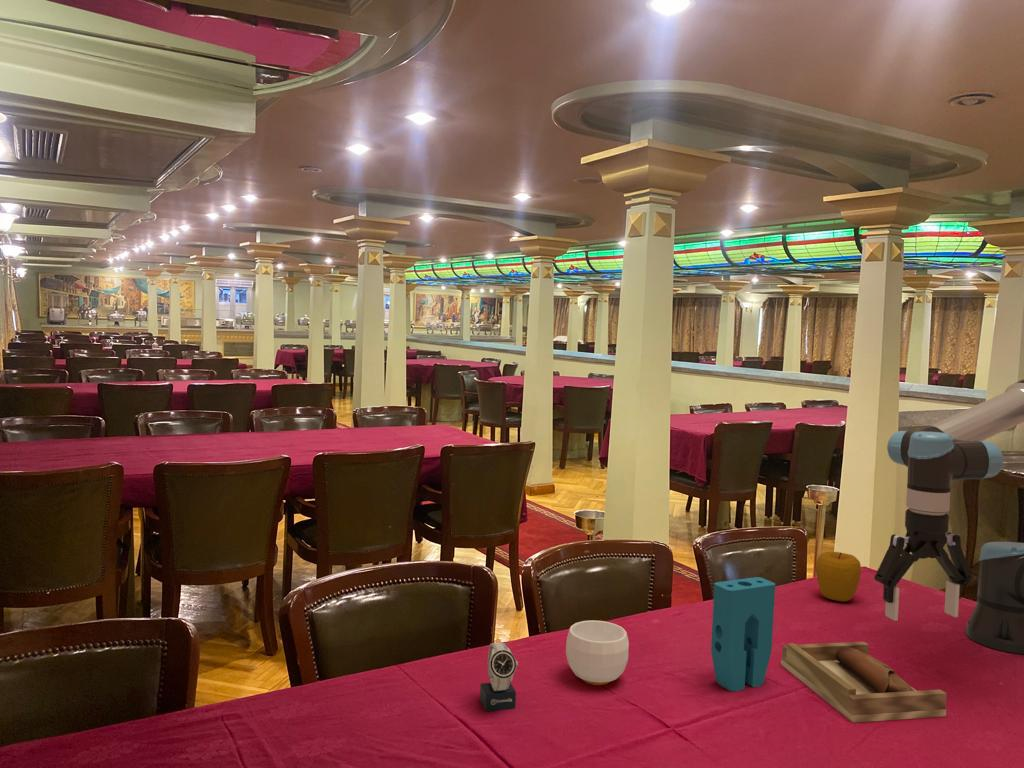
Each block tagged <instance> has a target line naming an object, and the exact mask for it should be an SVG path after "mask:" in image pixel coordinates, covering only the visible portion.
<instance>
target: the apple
mask: <svg viewBox="0 0 1024 768" xmlns="http://www.w3.org/2000/svg"><path fill="white" fill-rule="evenodd" d="M815 564H816V565H815V575H816V580H817V582H818V583H817V584H818V587H819V590H820V593H821V594H822V596H823V597H825V598H826V599H828V600H832V601H837V602H848V601H850V600H851V599H852V598H853V597H854V596H855V594H856V592H857V590H858V587H859V583H860V579H861V575H862V565H861V562H860V560H859V559H858V558H857V557H856V556H854V555H852V554H851V553H850V554H849V553H844V552H840V551H824V552H823V553H820V554H819V556H818V558H817V559H816V563H815Z"/></svg>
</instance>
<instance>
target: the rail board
mask: <svg viewBox="0 0 1024 768" xmlns="http://www.w3.org/2000/svg"><path fill="white" fill-rule="evenodd" d="M869 646H870V645H869V643H867V642H865V641H851V642H830V643H829V642H827V643H825V642H824V643H806V644H795V643H786V644H785V645H784V644H783V645H782V650H781V651H782V652H781V653H782V654H781V659H780V660H781V661H780V665H781V666H782V667H783V668H785V669H786V670H787V671H788V672H790V673H791V674H792V675H793V676H794V677H796V678H797V679H798V680H800V681H801V682H802V683H803V684H805V686H807V687H808V688H810V690H811V691H813V692H814V693H816V695H818V696H819V697H820V698H821V699H822V700H824V701H826V702H827V703H828V704H829V705H830V706H831V707H833V708H834V709H835V710H836V711H837V712H839V713H840V714H842V715H843V716H844V717H845V718H846V719H847V720H849V721H850V722H851V723H867V722H883V721H894V720H908V719H909V720H910V719H924V718H925V719H926V718H939V717H941V718H942V717H946V716H947V709H946V707H947V695H948V694H947V693H946V692H945V691H943V690H942V689H928V690H927V689H926V690H924V689H923V690H916V688H914V687H912V688H913V689H914V690H915V691H906V692H890V693H878V692H876V691H875V690H874V689H873V688H872V687H871V686H869V685H868V684H867V683H866V682H865V681H864V680H863V679H861V678H860V677H859V676H858V675H856V674H855V673H854V672H853V671H852V670H850V669H849V668H848V667H846V666H844V665H843V664H841V663H840V662H839V661H837V659H836V653H837V651H838V650H839V649H840V648H841V647H849V648H853V649H856V650H859V651H861V652H864V653H866V654H868V655H869V649H870V647H869Z"/></svg>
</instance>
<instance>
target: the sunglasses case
mask: <svg viewBox="0 0 1024 768" xmlns="http://www.w3.org/2000/svg"><path fill="white" fill-rule="evenodd" d="M836 659H837V661H839V662H840V663H841V664H843V665H844V666H846V667H848V668H849V669H850V670H852V671H853V672H854V673H855V674H856V675H858V676H859V677H860V678H861V679H863V680H864V681H865V682H866V683H867V684H868V685H869V686H871V687H872V688H873V689H874V690H875V691H876V692H878V693H890V692H906V691H915V690H916V689H915V688H914V687H913V686H911V685H910V684H908V683H907V682H906V681H905V680H904V679H903V678H901V677H900V676H899V675H898V674H897V673H896V671H895V670H894V669H893V668H892V667H890V666H889V665H888V664H886V663H885V662H883V661H880V660H879V659H877V658H875V657H874V656H872V655H870V654H869V653H868V654H866V653H864V652H861V651H859V650H856V649H853V648H849V647H841V648H840V649H839V650H838V651H837V653H836ZM913 688H914V689H915V690H914V689H913Z"/></svg>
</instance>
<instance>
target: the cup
mask: <svg viewBox="0 0 1024 768" xmlns="http://www.w3.org/2000/svg"><path fill="white" fill-rule="evenodd" d="M565 645H566V646H565V654H566V659H567V663H568V666H569V668H570V669H571V671H572V672H573V673H574V675H575V676H576V677H577V678H580V679H582V681H584V682H585V683H587V684H589V685H593V686H604V685H607V684H609V683H610V682H613V681H615V680H617V679H618V678H619V677H620V676H621V675H622V674H623V673H624V672H625V669H626V666H627V664H628V662H629V661H628V660H629V649H630V648H629V646H630V641H629V637H628V633H627V631H626V630H625V629H624V627H622V626H620V625H618V624H616V623H613V622H608V621H605V620H597V619H596V620H594V619H593V620H582V621H579V622H575V623H574V624H572V625H571V626H570V627H569V630H568V634H567V637H566V643H565Z"/></svg>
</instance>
